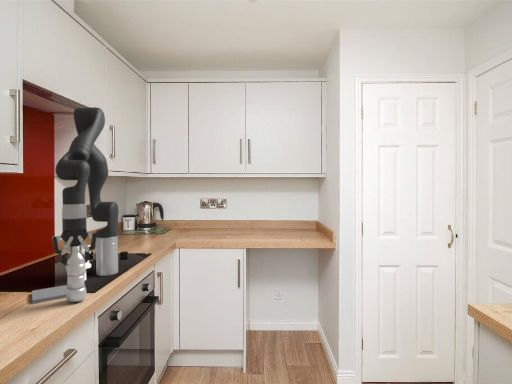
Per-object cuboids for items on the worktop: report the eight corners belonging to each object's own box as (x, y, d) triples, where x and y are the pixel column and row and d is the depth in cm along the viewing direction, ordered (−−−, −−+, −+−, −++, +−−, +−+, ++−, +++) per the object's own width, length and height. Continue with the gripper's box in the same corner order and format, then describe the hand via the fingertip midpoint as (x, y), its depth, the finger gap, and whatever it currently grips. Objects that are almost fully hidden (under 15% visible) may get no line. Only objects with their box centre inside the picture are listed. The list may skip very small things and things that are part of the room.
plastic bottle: (75, 305, 113) (74, 248, 112) (61, 302, 115) (60, 246, 115) (91, 299, 119) (89, 244, 118) (77, 296, 121) (76, 243, 121)
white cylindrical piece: (91, 281, 140) (91, 246, 139) (73, 283, 137) (72, 248, 136) (90, 276, 146) (90, 243, 146) (72, 279, 143) (72, 245, 142)
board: (32, 293, 125) (31, 290, 124) (73, 286, 133) (73, 284, 132) (32, 303, 115) (32, 300, 115) (77, 295, 123) (77, 292, 123)
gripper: (94, 214, 123) (95, 258, 124) (49, 217, 115) (51, 264, 116) (98, 216, 117) (99, 262, 118) (51, 219, 109) (52, 269, 109)
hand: (75, 263), depth 117 cm, fingers closed on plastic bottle, 6 cm apart
